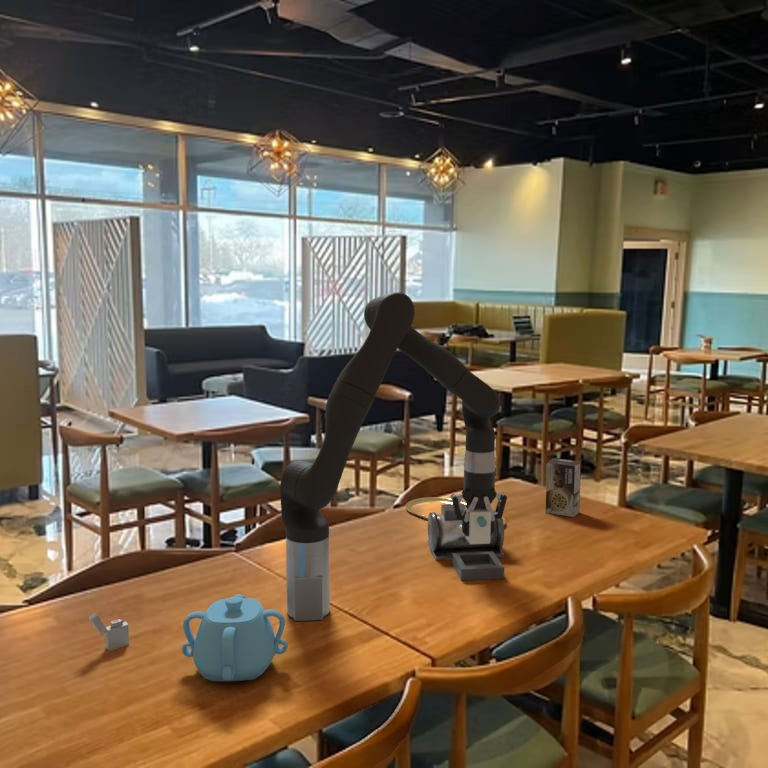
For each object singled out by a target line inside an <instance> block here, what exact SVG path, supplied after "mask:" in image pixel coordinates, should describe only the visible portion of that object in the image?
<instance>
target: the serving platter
mask: <svg viewBox="0 0 768 768" xmlns="http://www.w3.org/2000/svg"><path fill="white" fill-rule="evenodd" d="M424 503H444V504H452V500H451V498H450V497H449V498H447V497H439V496H438V497H437V496H435V497H434V496H432V497H431V496H428V497H420V498H414V499H412V500H409V501H407V502H406V504H405V508H406V510H407V511H408V512H409V513H410V514H412V515H414V516H417V517H419V518H421V519H424V520H427V521H428V516H425V515H423V514H420V513H417V512H416V511H413V510H412V507H414V506H416V505H419V504H424ZM460 504H464V505H466V502H462V501H461V503H460ZM502 518H503V524H504V526H505V525H506V519H505V518H504V517H503V516H502Z"/></svg>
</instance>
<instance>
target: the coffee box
mask: <svg viewBox="0 0 768 768" xmlns="http://www.w3.org/2000/svg"><path fill="white" fill-rule="evenodd" d="M581 473H582V461H579V460H572V459H566V458H565V459H564V458H563V459H562V458H556V457H553V458H551V459H550V460H549V461H548V462H546V477H545V478H546V481H545V482H546V488H545V490H546V491H545V513H547V514H553V515H559V516H565V517H569V518H570V517H571V518H574V517H576V515H578V514H579V513H580V508H581V507H580V501H581V500H580V499H581V477H582V476H581V475H582V474H581Z"/></svg>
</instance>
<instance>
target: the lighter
mask: <svg viewBox="0 0 768 768" xmlns="http://www.w3.org/2000/svg"><path fill="white" fill-rule="evenodd" d="M88 618H89V620H90V621H91V623H92V624H93V626H94V627H95V629H96V630H97V632H98V633H99V634H100V635H101V636H102V635H103V634H104V637H105V638H104V639H105V640H104V641H105V649H106V650H107V651H108V652H111V651H114V650H116V649H120V648H123V647H126V646H129V645H130V632H129V631H130V630H129V623H128V622H127V621H124V620H123V619H119V618H118V619H115V620H112V621H110V625H107V626H106V625H105V624H104V623H103V621H102V620H101V619H100V616H99V615H98V614H97V613H96V612H93V613H91V615H89V616H88Z"/></svg>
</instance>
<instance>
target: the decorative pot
mask: <svg viewBox="0 0 768 768" xmlns="http://www.w3.org/2000/svg"><path fill="white" fill-rule="evenodd" d="M269 617H274V618H277V619H278V622H279V624H278V625H279V626H278V629H277V631H276V634H275V632H274V627H273V625H272V622H271V620H270V619H269ZM194 619H200V620H201V621H200V624H199V626H198V629H197V631H196V635H195V637H194V635H193V632H192V629H191V627H190V621H192V620H194ZM182 627H183V632H184V635H185V637H186V640H187V641H186V642H184V644H183V645H182V646H181V652H182V654H183V655H184V656H185V657H187V658H192V659H193V663H194V666H195V668H196V670H197V671H198V672H199V674H200V675H201V676H202V677H204V678H205V679H206V680H209V681H211V682H240V681H254V680H256V679H258V678H259V676H261V675H263V673H265V671H266V670H267V668H268V667H270V665H271V663H272V661H273V659H274V657H275V655H283V654H284V653H286V652H287V650H288V648H289V645H288V642H287V640H285V639H282V635H283V634H284V630H285V627H286V619H285V616H284V615H283V613H282V612H280V611H279V610H276V609H265V608H264V606H263V605H262V603H261V602H260V601H259V600H257V599H256V598H251V597H246V595H244V594H240V593H238V594H235V595H234V596H231V597H227V598H223V599H222V598H221V599H218V600H216V601H214V602H212V604H211V605H209V607H208V608H207V610H206V611H205V612H204V611H200V610H199V611H197V610H196V611H193V612H191V613H189V614H188V615H187V616H186V617H185V619H184V620H183V624H182ZM279 645H282V646H281V647H279ZM188 647H189V648H190V649H188Z"/></svg>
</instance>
